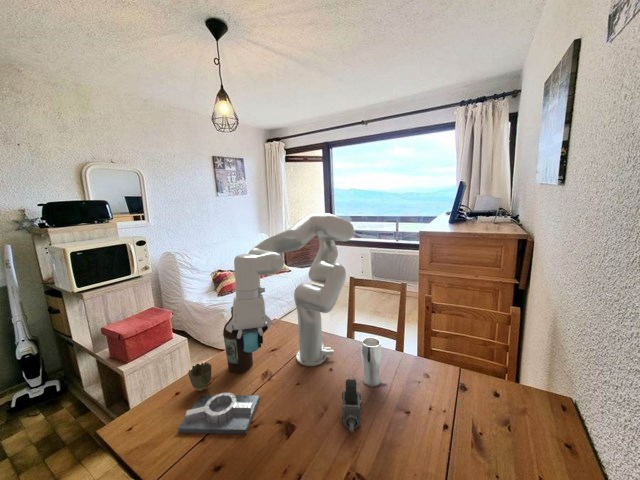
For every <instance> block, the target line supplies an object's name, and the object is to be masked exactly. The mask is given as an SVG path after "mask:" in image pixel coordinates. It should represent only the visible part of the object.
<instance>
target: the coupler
mask: <svg viewBox="0 0 640 480" xmlns="http://www.w3.org/2000/svg"><path fill="white" fill-rule="evenodd" d="M258 333H259V331H258V329H257V328H251V329H243V331H242V335H243V350H244V351H245V352H252V353H254V352H256V351H258V350H259V349H260V348H259V342H258Z"/></svg>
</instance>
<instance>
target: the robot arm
mask: <svg viewBox="0 0 640 480" xmlns="http://www.w3.org/2000/svg"><path fill="white" fill-rule="evenodd" d="M354 233H355V228H354V225H353V224H352V223H351V222H350V221H349V220H347V219H345V218H342V217H340V216H337V215H335V214H331V213H327V212H321V213H320V212H319V213H318V212H316V213H315V212H314V213H313V212H312V213H308V214H307V215H304V217H303V218H301V219H300V220H298V221H297V222H296V223H294V224H293V225H292V226H291V227H290V228H288V229H286V230H285V231H282V232H279V233H277V234H275V235H273V236H270V237H268V238H266V239H264V240H263V241H260V242H259V243H258V244H257V245H255V246H254V247H252V248H251V249H250V250H249V252H248V253H243V254H239V255H236V256H235V257H234V260H233V264H234V265H233V266H234V267H233V268H234V281H235V296H234V298H233V303H232V306H233V318H232V320H231V321H230V323H229V324H228V325H227V327H226V330H227V331H229V332H231V333H232V334H233V335H235V336H236V337H237V338H238V347H241V350H243V335H242V330H243V329H251V328H257V329H258V342H259V349H260V348H262V345H263V344H264V337H263V336H264V334H265V333H266V332H267V331H268V329H270V328H271V326H273V325H274V322H273V320H272V319H271V318H270V317H269V316H268V315H267V314H266V306H265V299H264V295H263V294H262V293H265V292H266V289H265V287H261V277H260V276H270V275H275V274H277V273H279V272H280V271H281V270H282V269H283V268H284V261H285V260H284V258H283V256H282V255H281V254H283V253H288V252H294V251H297V250H300V249H302V248H303V247H305V245H307V244H308V243H309V242H310V241H312V240H313V239H314V238H315V237H316V236H317V238H318V242H319V248H318V252H317V254H316V256H315V258H314V260H313V262H312V264H311V265H310V268H309V271H308V278H309V280H310V281H311V282H314V283H315V284H313V283H309V282H303V283H300V284H298V285H297V287H295V289H294V293H293V298H294V304H295V307H296V312H297V313H296V314H297V326H298V328H297V330H298V345H299V347H298V348H299V350H298V351H297V353H296V355H295V358H296V359H295V360H296V361H297V363H299V364H300V365H302V366H306V367H315V366H318V365H321V364H323V363H324V362H325V361H326V360H327V356H334V350H333V349H331V346H330V347H326V346H324V343H323V330H322V329H323V328H322V325H323V324H322V315H321V314H328V313H330V312H331V311H333V309H334V307H335V306H336V303H337V301H338V298H339V297H340V294H341V292H342V290H343V287H344V284H345V282H346V277H347V272H346V268H345V266H343V265H342V264H341V263H338V262H337V259H338V256H339V251H338V247H337V244H336V242H337V241H338V242H347V241H350V240H351V239H352V238H353V236H354ZM335 241H336V242H335ZM318 284H320V285H318ZM322 285H323V286H322ZM232 326H233V327H234V328H233V327H232Z"/></svg>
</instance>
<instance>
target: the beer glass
mask: <svg viewBox="0 0 640 480" xmlns="http://www.w3.org/2000/svg"><path fill="white" fill-rule="evenodd" d="M360 347H361V349H360V351H361V355H360V356H361V361H362V365H363V377H362V381H363V383H364V384H365V385H366V386H369V387H377V386H379V385H380V384H381V378H380V370H381V369H380V368H381V363H382V344H381V340H380V339H379V338H377V337H374V336H366V337H364V338H362V340H361V346H360Z"/></svg>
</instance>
